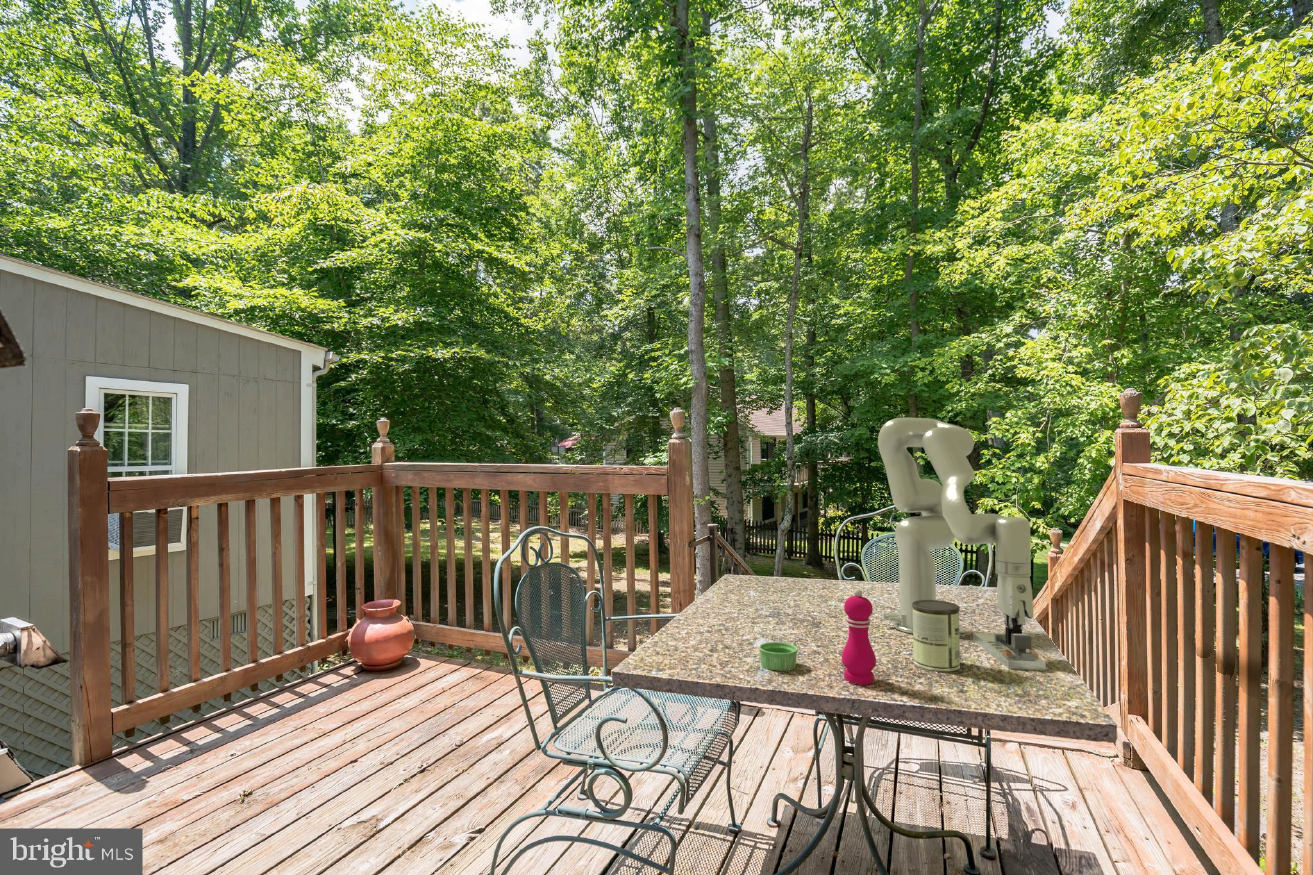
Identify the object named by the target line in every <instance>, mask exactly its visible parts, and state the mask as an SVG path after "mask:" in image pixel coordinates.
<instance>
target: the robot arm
mask: <svg viewBox="0 0 1313 875" xmlns="http://www.w3.org/2000/svg"><path fill="white" fill-rule="evenodd" d="M879 430H880V431H879V433H878V438H877V445H878V446H877V447H878V450H879V454H880V456H881V460H882V463H883V464H884V468H885V471H886V476H887V481H888V485H889V489H890V490H889V491H890V494H891V499H892V501H893V505H894V506H895V508H896V510H898V511H900V512H901V513H902V512H903V513H921V515H919V516H917V515H916V516H908V517H906V518H904V519H903V518H902V520H900V521H899V522H898V524H897V525H896V527H895V530H894V531H895V532H894V537H895V542H896V547H897V553H898V568H899V569H898V570H899V572H898V574H899V576H898V577H899V609H897V610H896V612H893V613H886V612H885V613H884V612H882V616H881V617H882V621H888V622H889V623H890V622H892V623H894V624H893V626H894V628H895V629H897V630H898V631H901V632H904V633H907V634H913V607H912V603H913V602H915V601H919V600H937V589H936V588H937V586H936V584H937V583H936V580H937V578H936V575H937V574H936V564H935V561H934V558H933V556H932V554H931V552H930V550H938V549H939V550H940V549H946V548H947V547H949V546H951V545H952V544H953V543H954V540H955V539H956V540H957V541H959V542H960V543H962V544H964V545H967V546H975V545H984V544H985V545H986V544H987V545H988V544H995V545H994V546H995V547H994V549H995V550H994V551H995V552H994V553H995V555H994V556H995V574H996V575H997V584H996V585H997V586H996V602H997V603H996V604H997V609H998V610H999V611H1000V612H1002V615H1003V618H1004V626H1005V630H1004V632H1005V633H1004V634H1005V637H1006V643H1007V644H1008V645H1011V634H1023V628H1024V626H1025V625H1026V623H1027V622H1026V618H1027V619H1029V620H1031V619H1033V618H1034V602H1033V589H1032V582H1031V578H1030V577H1031V576H1032V573H1031V572H1032V570H1031V568H1032V567H1031V566H1032V565H1031V564H1032V563H1031V560H1032V559H1031V558H1032V557H1031V554H1032V553H1031V524H1030V521H1029V520H1028V519H1026V518H1024V517H1019V516H1004V515H1000V514H997V513H974V514H973V513H972V512H971V511H970V509H969V506H968V505H967V503H966V500H965V497H964V492H965V491H964V490H965V488H966V486H967V485H968V484H970V483H971V482H972V481H973V480H974V478H975V473H976V472H975V470H974V469H973V467H972V466H971V463H970V462H969V460H968V458H967V456H969V455H970V454H971V453H972V452H973V449H974V446H975V441H974V438H973V435H972V434H971V433H970V432H969V431H968V430H966V429H965V428H963V427H961V426H958V425H956V424H955V425H954V424H951V423H947V422H944V421H941V420H938V419H934V418H929V417H897V418H893V419H890V420H888V421H886V422H885V423H884V424H883V425H882V427H881V428H880V429H879ZM907 448H923V449H924V452H925V454H926V455H927V458H928V459H929V462H930V464H931V465H932V467H933V469H934V471H935V473H936V475H937V477H938V479H939V481H940V482H938V481H937V480H934V479H930V478H921V477H920V474H919V471H918V465H917V463H916V461H915V459H914V458H913V455H912V454H911V453H910V452H909V450H908V449H907Z"/></svg>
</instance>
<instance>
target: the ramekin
mask: <svg viewBox="0 0 1313 875" xmlns="http://www.w3.org/2000/svg"><path fill="white" fill-rule="evenodd" d="M758 649H759V654H760V664H761V666H762V667H763V668H764V667H765V668H764V669H766V668H767V669H766V670H769V669H771V670H770V671H773V670H789V669H792V670H794V669H795V668H796V667H797V665H796V664H797V654H798V650H799V649H798V647H797V646H796V645H794V644H793V643H792V644H791V643H789V642H788V643H787V642H782V641H771V642H764V643H762V644H760V645H759V646H758ZM794 667H795V668H794ZM793 668H794V669H793ZM789 671H790V670H789Z"/></svg>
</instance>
